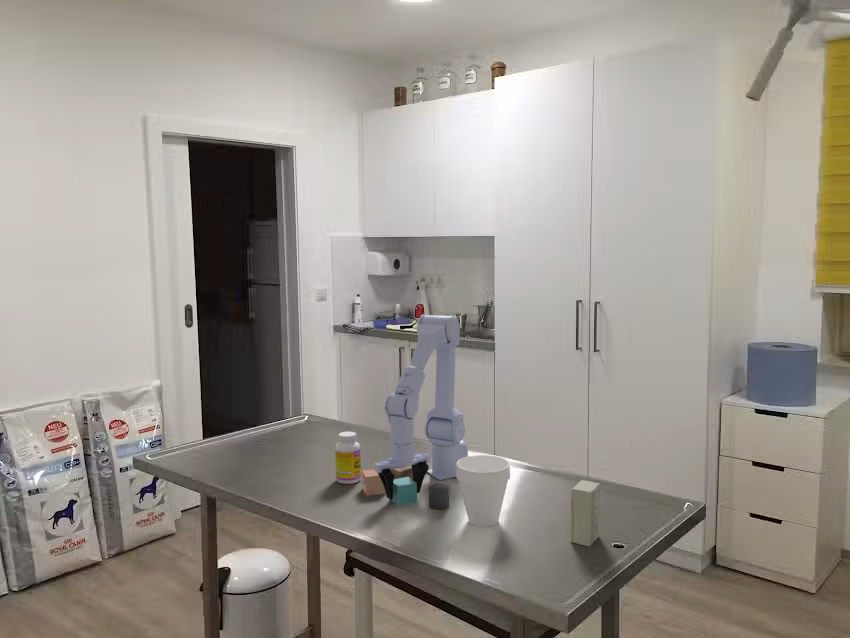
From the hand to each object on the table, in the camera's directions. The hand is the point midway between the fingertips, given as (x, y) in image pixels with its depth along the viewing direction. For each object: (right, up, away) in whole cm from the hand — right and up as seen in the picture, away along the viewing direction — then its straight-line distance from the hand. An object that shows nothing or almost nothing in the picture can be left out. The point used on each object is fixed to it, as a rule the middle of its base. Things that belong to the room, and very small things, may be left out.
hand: (403, 495), depth 179 cm
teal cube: (0, -2, 0) cm, 2 cm away
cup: (+19, -3, -13) cm, 23 cm away
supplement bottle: (-15, 0, +15) cm, 21 cm away
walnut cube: (-1, 0, +11) cm, 11 cm away
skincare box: (+40, -4, -24) cm, 46 cm away
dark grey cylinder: (+9, -2, -4) cm, 10 cm away
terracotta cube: (-8, -1, +7) cm, 10 cm away
